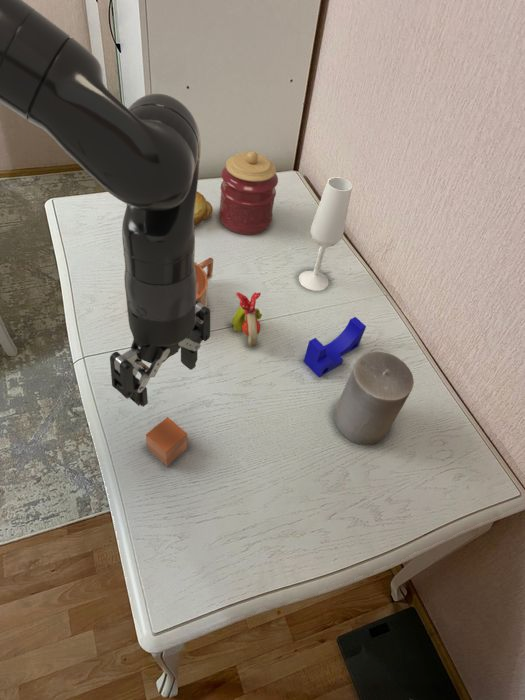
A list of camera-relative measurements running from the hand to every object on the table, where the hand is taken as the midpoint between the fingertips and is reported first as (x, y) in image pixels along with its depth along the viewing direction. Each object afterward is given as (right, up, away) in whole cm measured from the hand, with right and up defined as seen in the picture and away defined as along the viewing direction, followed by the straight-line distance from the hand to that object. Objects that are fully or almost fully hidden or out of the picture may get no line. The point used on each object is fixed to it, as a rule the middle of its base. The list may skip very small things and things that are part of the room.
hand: (164, 382), depth 67 cm
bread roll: (-5, +35, +53) cm, 64 cm away
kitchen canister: (+9, +36, +56) cm, 67 cm away
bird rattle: (+10, +7, +31) cm, 34 cm away
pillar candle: (+30, -8, +21) cm, 38 cm away
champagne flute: (+24, +20, +45) cm, 55 cm away
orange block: (-2, -11, +13) cm, 18 cm away
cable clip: (+27, +3, +31) cm, 41 cm away
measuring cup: (-4, +14, +35) cm, 38 cm away
